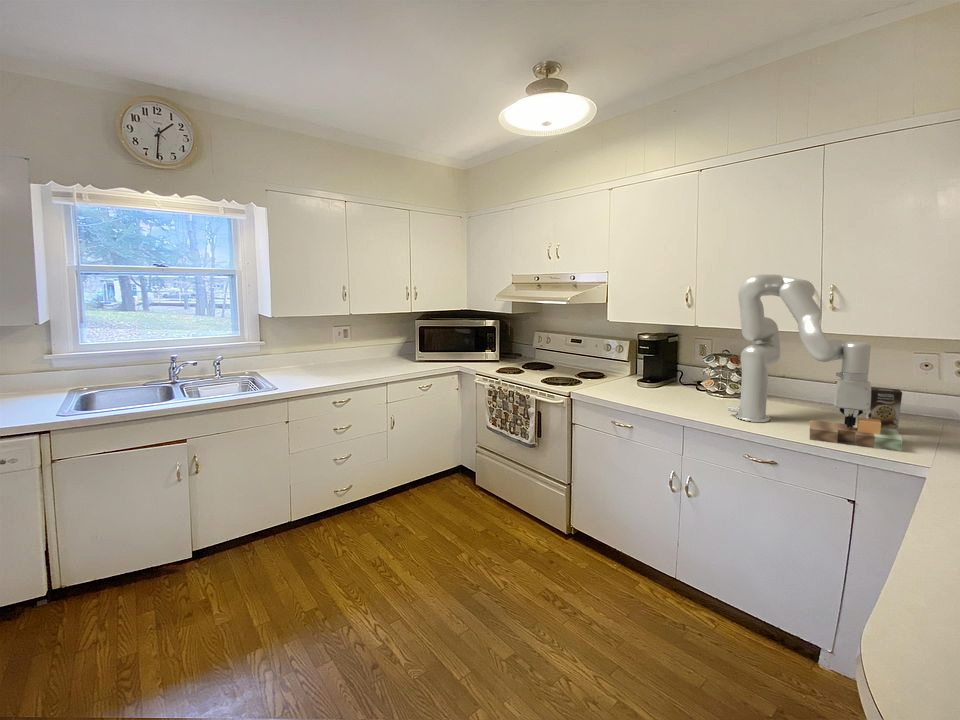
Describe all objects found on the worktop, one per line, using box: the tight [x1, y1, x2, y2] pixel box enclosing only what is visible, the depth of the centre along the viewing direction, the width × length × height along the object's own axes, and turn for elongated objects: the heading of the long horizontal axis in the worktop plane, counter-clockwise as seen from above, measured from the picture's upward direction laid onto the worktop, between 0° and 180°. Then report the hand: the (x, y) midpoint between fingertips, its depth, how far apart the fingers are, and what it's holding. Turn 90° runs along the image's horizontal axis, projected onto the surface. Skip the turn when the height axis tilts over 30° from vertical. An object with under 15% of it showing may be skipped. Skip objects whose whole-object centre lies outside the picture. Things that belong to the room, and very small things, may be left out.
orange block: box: [856, 416, 881, 434], centre depth 165 cm, size 6×5×4 cm
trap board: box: [809, 419, 903, 452], centre depth 168 cm, size 25×13×4 cm, turn 55°
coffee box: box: [865, 386, 903, 431], centre depth 176 cm, size 9×6×16 cm
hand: (849, 426), depth 168 cm, fingers closed
